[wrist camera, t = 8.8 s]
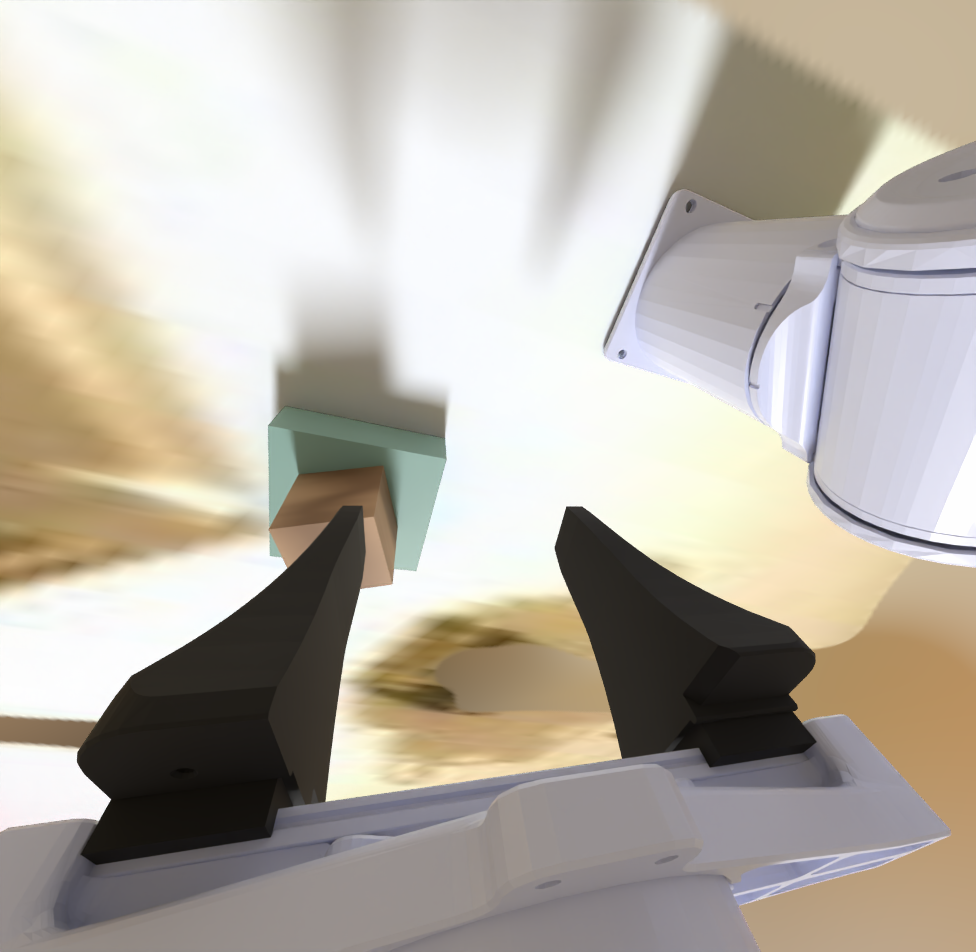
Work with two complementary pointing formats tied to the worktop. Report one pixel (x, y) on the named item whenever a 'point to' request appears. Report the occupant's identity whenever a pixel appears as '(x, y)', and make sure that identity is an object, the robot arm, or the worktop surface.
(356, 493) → the walnut cube
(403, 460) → the base block
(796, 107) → the worktop surface
